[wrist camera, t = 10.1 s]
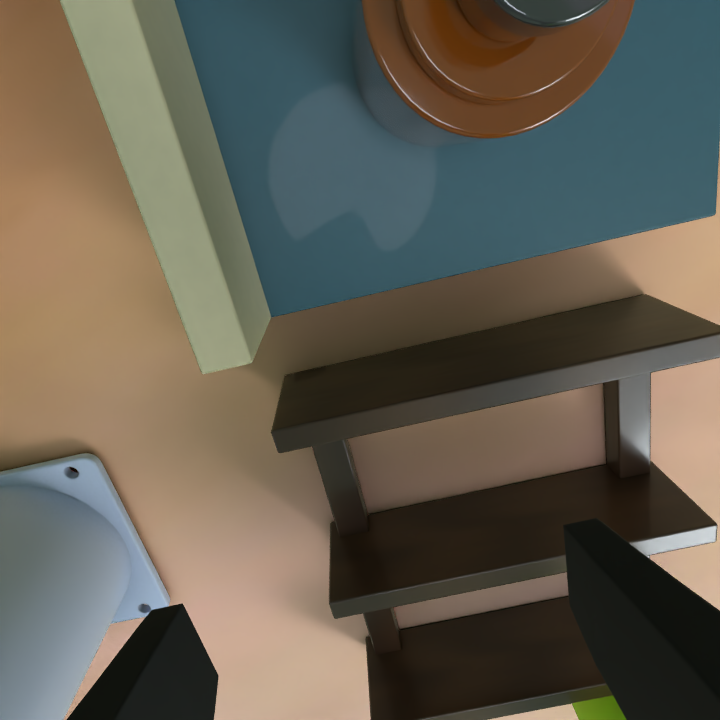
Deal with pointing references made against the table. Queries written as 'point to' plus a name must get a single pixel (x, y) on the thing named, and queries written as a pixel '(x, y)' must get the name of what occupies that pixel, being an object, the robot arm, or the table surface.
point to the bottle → (479, 63)
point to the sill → (373, 158)
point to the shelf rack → (493, 502)
